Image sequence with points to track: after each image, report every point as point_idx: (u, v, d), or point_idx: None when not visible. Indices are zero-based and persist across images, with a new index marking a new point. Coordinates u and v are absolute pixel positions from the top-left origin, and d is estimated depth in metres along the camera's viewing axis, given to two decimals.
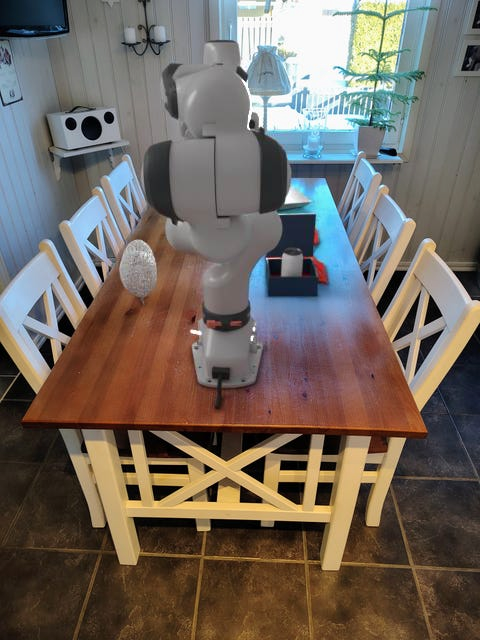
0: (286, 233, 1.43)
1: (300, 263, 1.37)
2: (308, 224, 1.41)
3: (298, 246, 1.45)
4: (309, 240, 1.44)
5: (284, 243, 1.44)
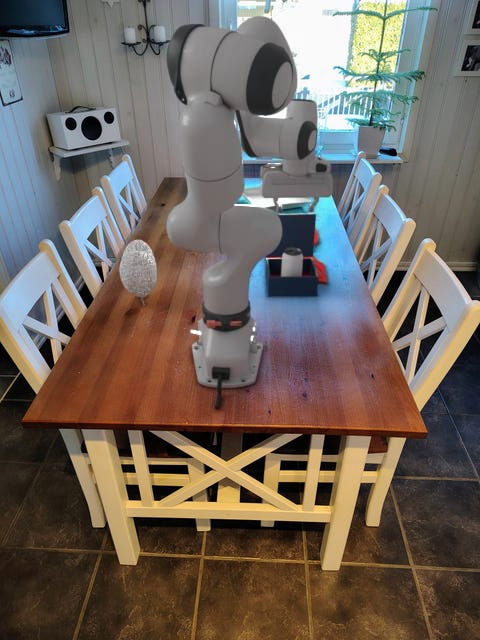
0: (286, 233, 1.43)
1: (300, 263, 1.37)
2: (308, 224, 1.41)
3: (298, 246, 1.45)
4: (309, 240, 1.44)
5: (284, 243, 1.44)
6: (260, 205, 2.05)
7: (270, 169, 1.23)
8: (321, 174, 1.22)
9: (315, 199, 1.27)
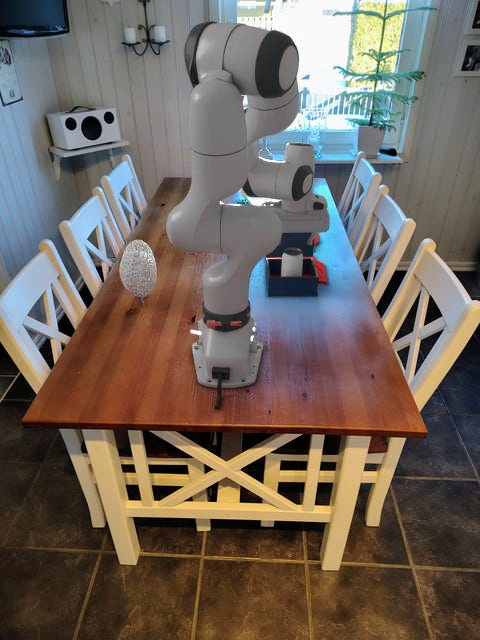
0: (286, 233, 1.43)
1: (300, 263, 1.37)
2: None
3: (298, 246, 1.45)
4: None
5: (284, 243, 1.44)
6: (260, 205, 2.05)
7: (270, 206, 1.29)
8: (318, 211, 1.28)
9: (313, 233, 1.33)
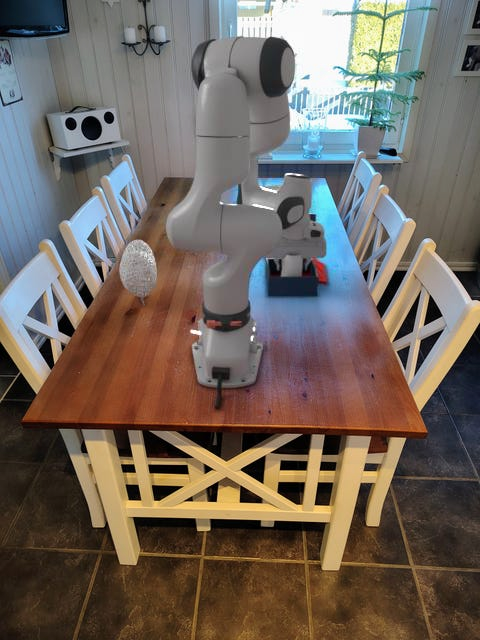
0: None
1: (300, 263, 1.37)
2: None
3: None
4: None
5: None
6: None
7: None
8: (315, 238, 1.32)
9: (307, 259, 1.38)
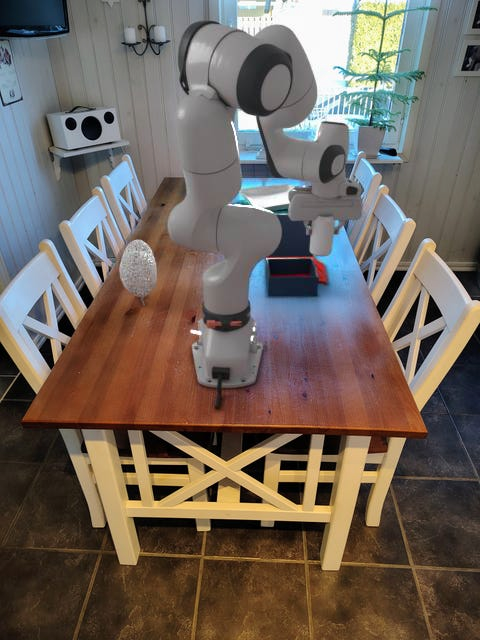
0: (286, 233, 1.43)
1: (332, 226, 1.24)
2: (308, 224, 1.41)
3: (298, 246, 1.45)
4: (309, 240, 1.44)
5: (284, 243, 1.44)
6: (260, 205, 2.05)
7: (299, 192, 1.20)
8: (351, 197, 1.19)
9: (340, 221, 1.25)
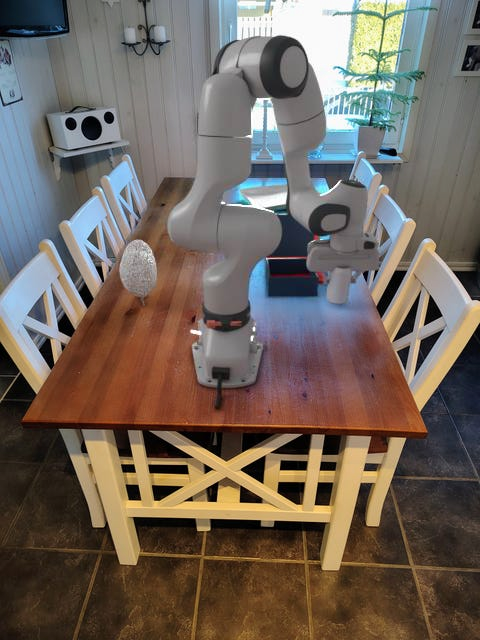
0: (286, 233, 1.43)
1: (350, 276, 1.28)
2: None
3: (298, 246, 1.45)
4: (309, 240, 1.44)
5: (284, 243, 1.44)
6: (260, 205, 2.05)
7: (317, 245, 1.24)
8: (368, 250, 1.23)
9: (357, 272, 1.28)
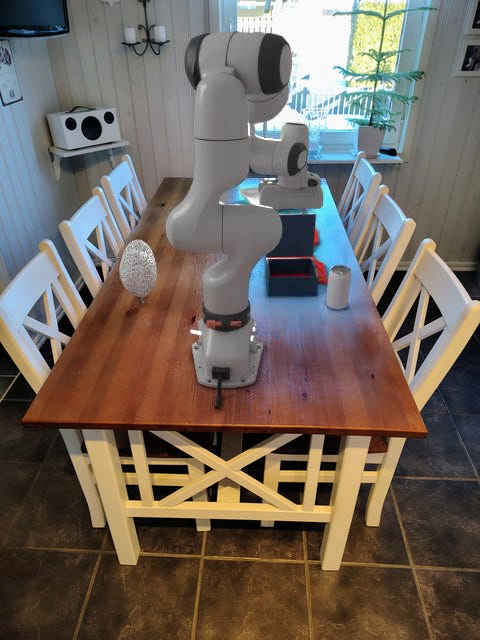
0: (286, 233, 1.43)
1: (349, 282, 1.29)
2: (308, 224, 1.41)
3: (298, 246, 1.45)
4: (309, 240, 1.44)
5: (284, 243, 1.44)
6: None
7: (267, 183, 1.38)
8: (312, 188, 1.36)
9: (303, 210, 1.42)
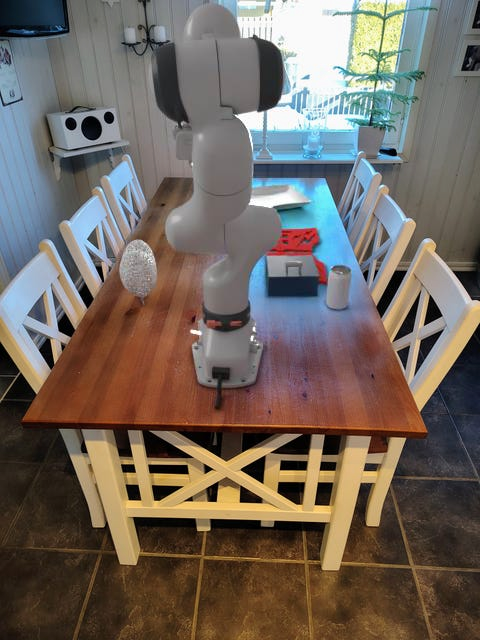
0: None
1: (349, 282, 1.29)
2: None
3: None
4: None
5: None
6: None
7: (182, 129, 1.21)
8: None
9: None
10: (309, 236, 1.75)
